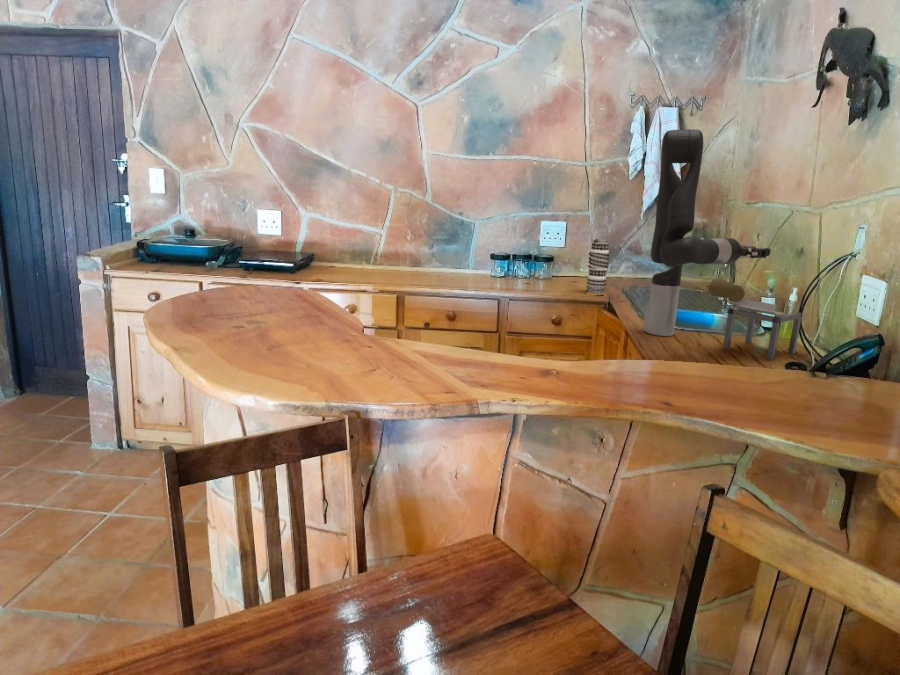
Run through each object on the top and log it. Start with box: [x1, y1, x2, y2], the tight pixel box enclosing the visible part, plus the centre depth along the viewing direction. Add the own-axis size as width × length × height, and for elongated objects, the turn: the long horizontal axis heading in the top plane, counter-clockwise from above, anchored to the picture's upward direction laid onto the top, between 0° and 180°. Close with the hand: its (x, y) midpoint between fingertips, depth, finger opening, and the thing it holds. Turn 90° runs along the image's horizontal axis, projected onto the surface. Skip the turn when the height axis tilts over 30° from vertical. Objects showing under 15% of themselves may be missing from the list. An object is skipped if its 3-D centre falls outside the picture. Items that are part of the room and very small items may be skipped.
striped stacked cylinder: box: [585, 238, 610, 294], centre depth 292 cm, size 9×9×25 cm
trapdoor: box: [728, 298, 788, 316], centre depth 201 cm, size 12×18×3 cm, turn 128°
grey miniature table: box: [722, 306, 803, 361], centre depth 204 cm, size 16×16×13 cm
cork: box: [708, 277, 746, 302], centre depth 199 cm, size 6×6×11 cm
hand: (756, 250), depth 195 cm, fingers open, 8 cm apart
